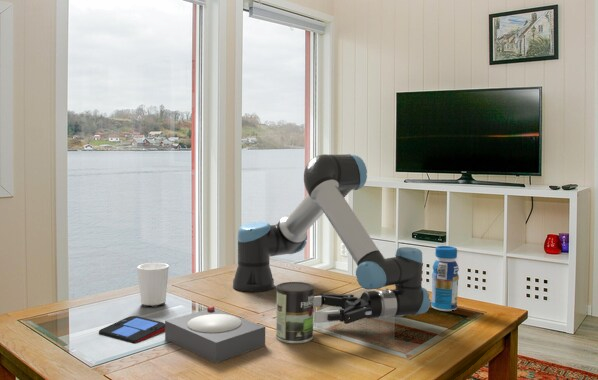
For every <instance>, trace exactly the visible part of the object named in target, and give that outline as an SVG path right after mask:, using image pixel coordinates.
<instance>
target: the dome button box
mask: <svg viewBox="0 0 598 380" xmlns="http://www.w3.org/2000/svg"><path fill="white" fill-rule="evenodd" d="M206 308H207V309H204V310H200V311H196V312H193V313H189V314H185V315H182V316H177V317H173V318H170V319H165V320H164V323H165V331H164V339H165V340H167V341H169V342H171V343H173V344H175V345H177V346H179V347H182V348H183V349H185V350H188V351H190V352H192V353H194V354H196V355H198V356H200V357H202V358H204V359H206V360H208V361H210V362H213V363H215V364H218V363H220V362H222V361H226V360H228V359H231V358H234V357H238V356H240V355H242V354H245V353H248V352H251V351H253V350H257V349H258V348H259V349H260V348H262V347H264V345H265V346H266V326H265V325H262V324H259V323H256V322H253V321H251V320H248V319H245V318H242V317H239V316H237V315H234V314H231V313H229V312H226V311H223V310H220V309H218V308H215V306H213V305H209V306H207V307H206Z"/></svg>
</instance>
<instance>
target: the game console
mask: <svg viewBox="0 0 598 380" xmlns="http://www.w3.org/2000/svg"><path fill="white" fill-rule="evenodd" d="M163 332H164V333H165V322H163V321H160V320H159V321H158V320H154V319H151V318H147V317H142V316H137V315H131V316H127V317H125V318H123V319H120V320H118V321H116V322H114V323H112V324H110V325H108V326H105V327H103V328H101V329H99V331H98V334H99V335H102V336H106V337H108V338H113V339H117V340H120V341H125V342H126V343H131V344H136V343H137V344H138V343H140V342H142V341H144V340H147V339H149V338H151V337H154V336H156V335H159V334H160V333H163Z"/></svg>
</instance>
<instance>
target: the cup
mask: <svg viewBox="0 0 598 380" xmlns="http://www.w3.org/2000/svg"><path fill="white" fill-rule="evenodd" d="M136 268H137V277H138V287H139V295H140V297H139V298H140V303H141V305H142V306H143V307H144V308H148V307H150V306H151V308H157V307H158V306H165V303H166V299H167V291H168V290H167V289H168V280H169V270H170V269H169V268H170V265H169V264H168V263H165V262H146V263H142V264H139V265H138V266H137V267H136Z"/></svg>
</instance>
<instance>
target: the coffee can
mask: <svg viewBox="0 0 598 380" xmlns="http://www.w3.org/2000/svg"><path fill="white" fill-rule="evenodd" d="M275 290H276V315H275V316H276V318H275V319H276V321H275V322H276V326H275V327H276V328H275V329H276V330H275V332H276V333H275V338H276V339H277V340H278V341H279V342H282V343H286V344H296V345H297V344H304V343H308V342H310V341H312V340H313V338H314V306H313V305H314V295H315V286H314V285H313V284H311V283H308V282H302V281H287V282H286V281H285V282H282V283H278V284H277V285H276V289H275Z"/></svg>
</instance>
